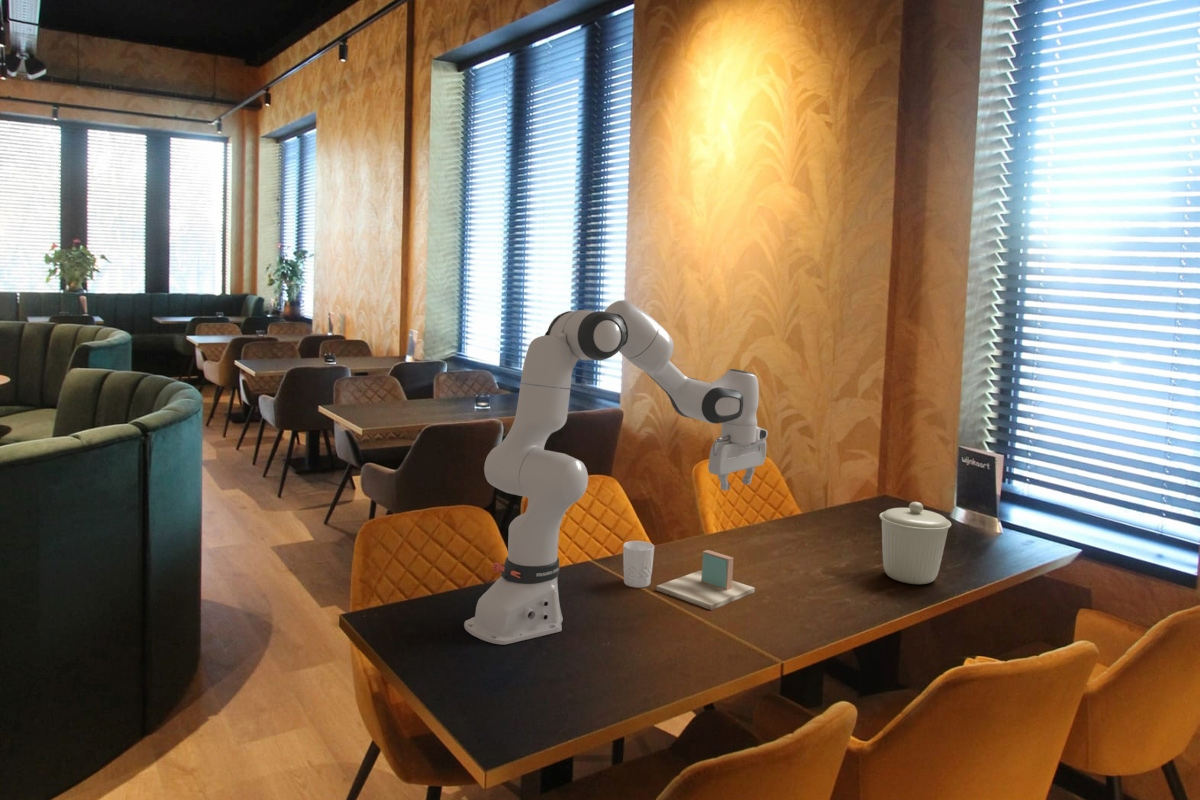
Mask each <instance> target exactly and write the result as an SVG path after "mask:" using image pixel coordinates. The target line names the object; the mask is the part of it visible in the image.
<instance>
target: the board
mask: <svg viewBox="0 0 1200 800" xmlns="http://www.w3.org/2000/svg"><path fill="white" fill-rule="evenodd" d="M701 576H702V569H701V570H700V569H699V570H698V571H694V572H691V573H689V574H686V575H683V576H681V577H677V578H674V579H671V580H669V581H666V582H663V583H660V584H658V585H656V591H657V592H661V593H663V594H666V595H668V594H669V596H671V597H674V598H677V599H679V600H682V601H686V602H688V603H691V604H693V605H696V606H699V607H702V608H704V609H706V610H710V611H713V610H715V609H717V608H720V607H723V606H725V605H727V604H730V603H732V602H734V601H735V602H736V601H737V600H740V599H742V598H744V597H746V596H749V595H752V594H754V593H755V589H756V587H754V586H751V585H747V584H744V583H742V582H738V581H735V580H732V589H729V590H724V589H721V588H718V587H715V586H712V585H710V584H707V583H704V582H701Z"/></svg>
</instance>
